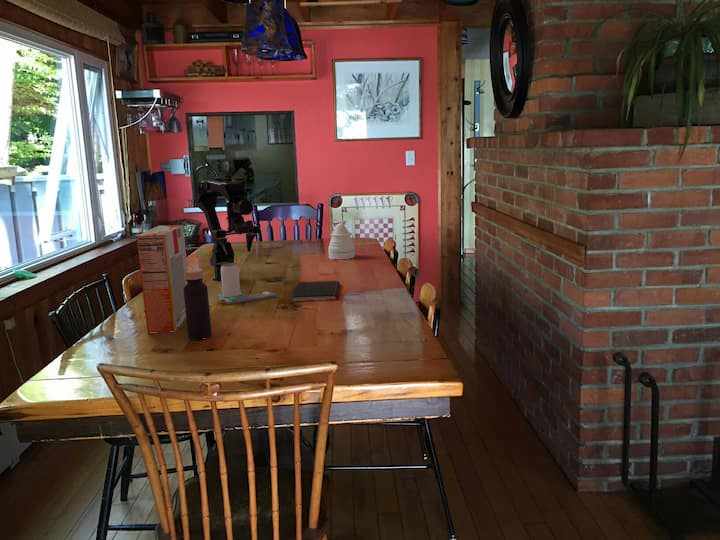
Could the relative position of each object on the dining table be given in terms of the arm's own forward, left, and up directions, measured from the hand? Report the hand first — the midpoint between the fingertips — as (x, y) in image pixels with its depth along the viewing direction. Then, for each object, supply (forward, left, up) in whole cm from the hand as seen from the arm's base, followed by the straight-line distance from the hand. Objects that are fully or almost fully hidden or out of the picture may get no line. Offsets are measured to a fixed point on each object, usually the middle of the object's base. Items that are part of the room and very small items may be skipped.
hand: (238, 253), depth 240 cm
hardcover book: (+37, -2, -14) cm, 39 cm away
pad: (+9, -17, -13) cm, 23 cm away
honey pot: (+12, +64, -13) cm, 67 cm away
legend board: (+18, -18, -13) cm, 28 cm away
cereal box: (+11, -51, -13) cm, 53 cm away
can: (+9, -17, -13) cm, 23 cm away
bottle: (+31, -60, -13) cm, 68 cm away
